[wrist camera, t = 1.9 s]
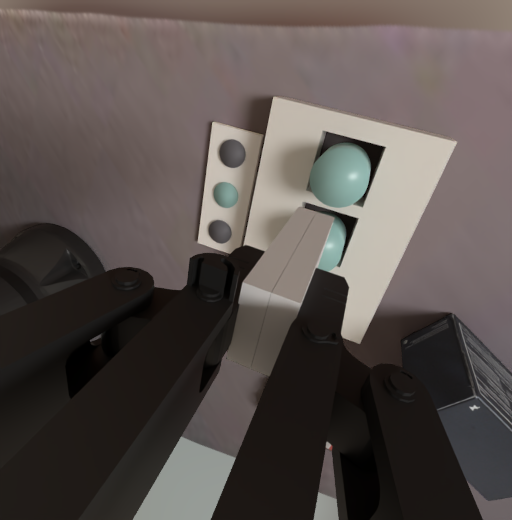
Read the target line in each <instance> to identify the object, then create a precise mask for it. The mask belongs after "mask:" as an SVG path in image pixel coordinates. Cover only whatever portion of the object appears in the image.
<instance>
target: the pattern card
mask: <svg viewBox="0 0 512 520" xmlns="http://www.w3.org/2000/svg"><path fill="white" fill-rule="evenodd" d="M263 138H264V135H263V134H259V133H255V132H252V131H248V130H244V129H241V128H237V127H233V126H230V125H226V124H222V123H219V122H212V131H211V139H210V147H209V155H208V163H207V171H206V179H205V187H204V195H203V204H202V212H201V220H200V228H199V236H198V243H200V244H203V245H206V246H209V247H211V248H214V249H217V250H220V251H223V252H226V253H229V254H231V253H232V252H233V251H234V250H235V249H236V248H239V247H241V246H242V243H243V238H244V233H245V228H246V223H247V218H248V213H249V208H250V203H251V198H252V193H253V188H254V183H255V178H256V173H257V168H258V163H259V158H260V153H261V148H262V143H263Z"/></svg>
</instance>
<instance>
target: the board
mask: <svg viewBox="0 0 512 520" xmlns="http://www.w3.org/2000/svg"><path fill="white" fill-rule="evenodd" d="M326 132H330V133H334V134H338V135H342V136H346V137H350V138H354V139H357V140H361V141H365V142H369V143H373V144H377V145H380V146H384V148H383V151H382V153H381V156H380V159H379V161H378V164H377V167H376V169H375V172H374V174H373V177H372V180H371V182H370V185H369V188H368V190H367V193H366V196H365V198H363V197H361V198H360V199H359V200H358V201H357V202H355V203H354V204H352V205H350V206H347V207H342V208H335V207H330V206H327V205H325V204H323V203H322V202H320V201H319V200H318V199H317V198H316V197H315V195H314V194H313V192H312V190H311V187H310V172H311V169H312V167H313V165H314V163H315V162H316V161H317V160H318V158H319V157H320V153H321V150H322V146H323V143H324V139H325V136H326ZM456 143H457V142H456V141H455V140H453V139H452V138H451V137H447V136H443V135H439V134H435V133H431V132H427V131H423V130H419V129H415V128H411V127H406V126H402V125H398V124H394V123H390V122H386V121H382V120H378V119H374V118H370V117H366V116H362V115H358V114H354V113H349V112H345V111H341V110H337V109H333V108H329V107H325V106H321V105H317V104H313V103H309V102H305V101H301V100H297V99H292V98H288V97H284V96H276V97H273V101H272V106H271V111H270V116H269V121H268V126H267V131H266V136H265V141H264V146H263V151H262V156H261V161H260V166H259V171H258V176H257V181H256V186H255V191H254V195H253V200H252V205H251V210H250V215H249V220H248V225H247V230H246V235H245V240H244V245H248V246H251V247H254V248H257V249H260V250H263V251H266V250H267V249H268V247H269V246H270V245H271V243H272V242H273V241H274V239H275V238H276V237H277V235H278V234H279V233H280V231H281V230H282V229H283V227H284V226H285V225H286V223H287V222H288V221H289V219H290V218H291V217H292V215H293V214H294V212H295V211H296V210H297V208H298V207H299V206H300V207H303V208H305V205H306V202H307V203H310V204H313V205H316V206H320V207H323V208H326V209H329V210H333V211H336V212H339V213H343V214H346V215H349V216H352V217H356V218H357V219H356V222H355V225H354V227H353V230H352V233H351V235H350V238H349V241H348V243H347V246H346V249H345V251H344V254H342V255H341V258H340V261H339V263H338V264H337V265H336V267H335V268H333V269H332V270H330V271H328V272H330V273H333V274H336V275H339V276H342V277H345V279H346V281H347V283H348V286H349V291H348V297H347V303H346V308H345V314H344V319H343V325H342V331H341V335H342V338H345V339H347V340H350V341H353V342H355V343H358V344H360V343H361V341H362V339H363V337H364V334H365V332H366V330H367V328H368V326H369V324H370V322H371V320H372V318H373V316H374V314H375V312H376V310H377V307H378V305H379V303H380V301H381V299H382V297H383V295H384V293H385V291H386V289H387V287H388V285H389V283H390V280H391V278H392V276H393V274H394V272H395V270H396V268H397V266H398V264H399V262H400V260H401V258H402V256H403V253H404V251H405V249H406V247H407V245H408V243H409V241H410V239H411V237H412V235H413V233H414V231H415V229H416V227H417V224H418V222H419V220H420V218H421V216H422V214H423V212H424V210H425V208H426V206H427V204H428V202H429V200H430V197H431V195H432V193H433V191H434V189H435V187H436V185H437V183H438V181H439V179H440V177H441V175H442V173H443V170H444V168H445V166H446V164H447V162H448V160H449V158H450V156H451V154H452V152H453V150H454V148H455V146H456ZM244 245H243V246H244Z"/></svg>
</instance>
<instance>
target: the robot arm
mask: <svg viewBox="0 0 512 520" xmlns="http://www.w3.org/2000/svg"><path fill="white" fill-rule="evenodd" d="M334 218H335V217H332V216H329V215H325V214H322V213H319V212H317V213H316V211H313V210H309V209H306V208H303V207H300V206H299V207H298V208H297V210H296V211H295V212H294V214H293V215H292V217H291V218H290V219H289V221H288V222H287V223H286V225H285V226H284V227H283V229H282V230H281V231H280V233H279V234H278V235H277V237H276V238H275V239H274V241H273V242H272V243H271V245H270V246H269V247H268V249H267V250H266V251H263V250H260V249H257V248H254V247H251V246H248V245H244V246H241V247H239V248H236V249H235V250H234V251H233V252H232V253H231V254H230V255H229V257H226V256H224V255H220V254H215V253H203V254H197V255H195V256H193V257H191V258H190V262H189V271H188V280H187V285H186V286H185V287H184V288H183V289H182V290H170V289H164V288H157V287H154V280H153V277H152V276H151V275H150V274H149V273H148V272H146V271H144V270H141V269H139V268H132V267H123V268H116V269H113V270H109V271H107V272H105V270H104V268H103V266H102V264H101V262H100V261H99V259H98V258H97V256H96V255H95V253H94V252H93V251H92V250H91V248H90V247H89V246H88V245H87V244H86V243H85V242H84V241H83V240H82V239H80V238H79V237H78V236H76V235H75V234H74V233H72V232H70V231H69V230H67V229H65V228H63V227H60V226H57V225H53V224H40V225H37V226H34V227H32V228H29V229H26V230H24V231H22V232H20V233H19V234H17V235H16V236H15V237H14V238H13V239H12V241H11V242H10V243H9V244H7V245H6V246H5V247H4V248H2V249H1V250H0V520H133V518H134V516H135V515H136V513H137V511H138V509H139V508H140V506H141V504H142V503H143V501H144V499H145V497H146V496H147V494H148V492H149V491H150V489H151V487H152V485H153V484H154V482H155V480H156V479H157V477H158V475H159V473H160V472H161V470H162V468H163V466H164V465H165V463H166V461H167V460H168V458H169V456H170V454H171V453H172V451H173V449H174V448H175V446H176V444H177V442H178V441H179V439H180V437H181V436H182V434H183V432H184V431H185V429H186V427H187V425H188V424H189V422H190V420H191V419H192V417H193V415H194V414H195V412H196V410H197V408H198V407H199V405H200V403H201V402H202V400H203V398H204V396H205V395H206V393H207V391H208V390H209V388H210V386H211V384H212V383H213V381H214V379H215V378H216V376H217V374H218V372H219V369H220V366H221V361H222V357H223V356H224V354H225V352H226V351H227V349H228V353H227V358H226V359H228V360H231V361H233V362H236V363H238V364H240V365H243V366H245V367H248V368H251V369H252V370H255V371H257V372H259V373H262V374H264V375H267V376H269V379H268V381H267V384H266V386H265V389H264V391H263V394H262V396H261V398H260V401H259V403H258V406H257V408H256V411H255V413H254V416H253V418H252V420H251V423H250V425H249V428H248V430H247V433H246V435H245V437H244V440H243V442H242V445H241V447H240V450H239V452H238V455H237V457H236V459H235V462H234V465H233V467H232V469H231V472H230V474H229V477H228V479H227V481H226V484H225V486H224V489H223V491H222V494H221V496H220V499H219V501H218V504H217V506H216V508H215V511H214V513H213V516H212V518H211V520H313V519H314V513H315V508H316V502H317V496H318V490H319V484H320V478H321V472H322V466H323V460H324V455H325V449H326V443H327V442H328V443H330V444H331V445H332V457H333V467H334V477H335V487H336V497H337V507H338V516H339V520H483V519H482V517H481V514H480V512H479V509H478V507H477V505H476V502H475V500H474V498H473V495H472V493H471V490H470V488H469V486H468V483H467V481H466V479H465V476H464V474H463V471H462V469H461V467H460V464H459V462H458V460H457V457H456V455H455V452H454V450H453V448H452V445H451V443H450V441H449V438H448V436H447V433H446V431H445V429H444V426H443V424H442V422H441V419H440V417H439V414H438V412H437V410H436V407H435V405H434V402H433V400H432V398H431V395H430V393H429V392H428V390H427V389H426V387H425V385H424V384H423V383H422V382H421V381H420V380H419V379H418V378H417V377H416V376H415V375H413V374H412V373H410V372H409V371H407V370H405V369H404V368H401V367H399V366H396V365H393V364H379V365H376V366H374V367H373V369H371V368H369V367H367V366H366V365H364V364H363V363H361V362H360V361H359V360H357V359H356V358H355V357H353V356H352V355H351V354H350V353H349V352H348V351H347V349H346V348H345V346H344V345H343V338H342V335H341V331H342V325H343V319H344V314H345V308H346V303H347V297H348V291H349V286H348V283H347V281H346V279H345V277H342V276H339V275H336V274H333V273H330V272H327V271H324V270H322V269H319V268H318V265H319V262H320V259H321V256H322V253H323V250H324V248H325V245H326V242H327V239H328V236H329V233H330V230H331V227H332V224H333V221H334ZM100 334H101V338H99V339H97V340H95V341H92V342H90V340H91V339H93V338H94V337H96V336H98V335H100Z"/></svg>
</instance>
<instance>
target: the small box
mask: <svg viewBox="0 0 512 520" xmlns="http://www.w3.org/2000/svg"><path fill="white" fill-rule="evenodd" d="M401 347H402V363H403V368H404V369H405V370H407V371H409V372H410V373H412V374H413V375H415V376H416V377H417V378H418V379H419V380H420V381H421V382H422V383H423V384H424V385H425V387H426V389H427V390H428V392H429V393H430V395H431V398H432V400H433V402H434V405H435V407H436V410H437V412H438V414H439V417H440V419H441V422H442V424H443V426H444V429H445V431H446V433H447V436H448V438H449V441H450V443H451V445H452V448H453V450H454V452H455V455H456V457H457V460H458V462H459V464H460V467H461V469H462V471H463V474H464V476H465V479H466V480H467V481H468V482H469V483H470V484H471V485H472V486H473V487H474V488H475V489H476V490H477V491H478V492H479V493H480V494H481V495H482V496H483V497H484V498H485V499H486V500H488V501H491V500H498V499H504V498H510V497H512V373H511V372H510V371H509V370H508V369H507V368H506V367H505V366H504V365H503V364H502V363H501V362H500V361H499V360H498V359H497V358H496V357H495V356H494V355H493V354H492V353H491V352H490V351H489V349H488V348H487V347H486V346H485V345H484V344H483V343H482V342H481V341H480V340H479V339H478V338H477V337H476V336H475V335H474V334H473V333H472V332H471V331H470V330H469V329H468V328H467V327H466V326H465V325H464V324H463V323H462V322H461V321H460V320H459V319H458V318H457V317H456V315H455V314H450V315H448V316H446V317H444V318H443V319H441V320H439V321H437V322H435V323H433V324H431V325H429V326H428V327H426V328H424V329H422V330H420V331H418V332H416V333H413V334H411V335H410V336H408V337H406V338H405V339H403V340H401Z"/></svg>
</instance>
